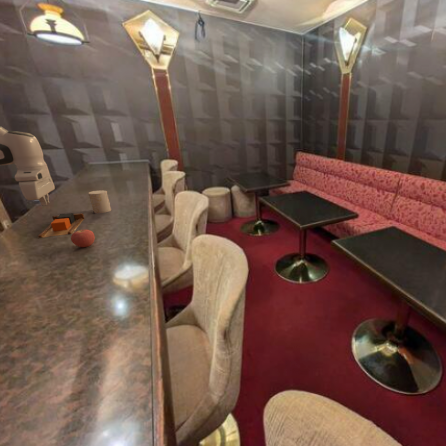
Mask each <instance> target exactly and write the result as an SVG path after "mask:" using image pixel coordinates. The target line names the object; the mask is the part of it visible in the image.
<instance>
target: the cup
mask: <svg viewBox="0 0 446 446" xmlns="http://www.w3.org/2000/svg"><path fill="white" fill-rule="evenodd" d="M88 196H89V197H88V198H89V200H90V204H91V207H92V210H93V213H95V214H103V213H109V212H111V211H112V207H111V203H110V200H109V195H108V191H107V190H103V189H102V190H100V189H99V190H93V191H88Z"/></svg>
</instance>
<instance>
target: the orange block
mask: <svg viewBox="0 0 446 446" xmlns="http://www.w3.org/2000/svg"><path fill="white" fill-rule="evenodd" d="M50 224H51V226H52V229H53V231H60V230H67V229H68V228H69V227H70V226H71V224H70V221H69V218H64V219H55V220H53V221H52V222H51V223H50Z"/></svg>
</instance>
